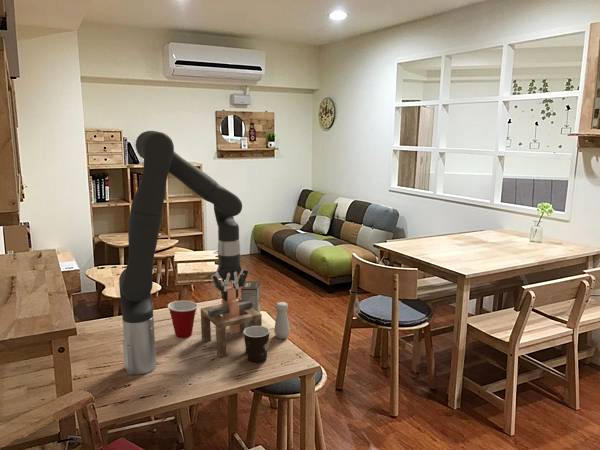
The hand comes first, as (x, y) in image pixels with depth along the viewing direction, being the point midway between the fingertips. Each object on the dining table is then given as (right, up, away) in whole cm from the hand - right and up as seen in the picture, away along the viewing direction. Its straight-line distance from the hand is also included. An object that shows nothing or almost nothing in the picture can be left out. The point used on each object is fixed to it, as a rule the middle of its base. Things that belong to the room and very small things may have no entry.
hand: (230, 299), depth 173 cm
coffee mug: (+9, -19, -9) cm, 23 cm away
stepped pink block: (0, -11, +2) cm, 11 cm away
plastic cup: (-18, -15, +10) cm, 25 cm away
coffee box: (+6, -13, +20) cm, 24 cm away
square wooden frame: (0, -16, +4) cm, 16 cm away
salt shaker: (+18, -15, +9) cm, 25 cm away
